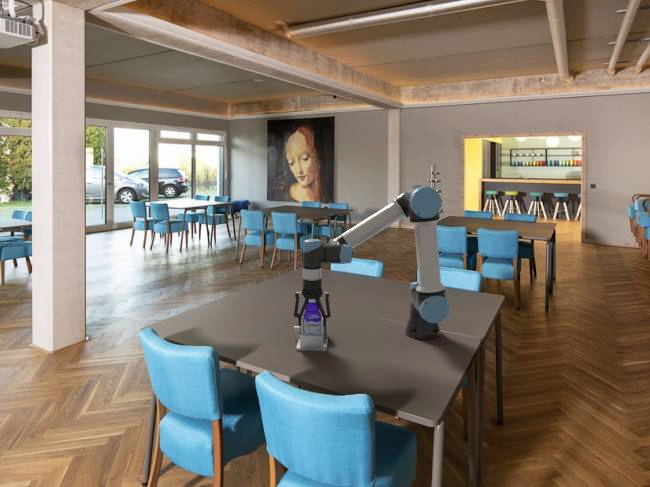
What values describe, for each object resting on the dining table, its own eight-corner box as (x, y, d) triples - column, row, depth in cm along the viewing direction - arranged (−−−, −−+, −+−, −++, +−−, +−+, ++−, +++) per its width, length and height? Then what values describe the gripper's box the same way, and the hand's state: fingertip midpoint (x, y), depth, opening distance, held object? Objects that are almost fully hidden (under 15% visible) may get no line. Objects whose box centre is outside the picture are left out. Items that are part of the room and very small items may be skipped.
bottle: (305, 343, 193) (305, 300, 190) (301, 338, 198) (302, 296, 195) (322, 341, 195) (323, 299, 192) (319, 336, 200) (319, 295, 197)
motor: (328, 335, 208) (328, 320, 207) (327, 340, 202) (327, 324, 201) (294, 335, 209) (294, 319, 208) (293, 340, 203) (292, 324, 202)
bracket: (327, 341, 202) (327, 327, 201) (326, 351, 191) (326, 336, 190) (298, 340, 202) (298, 326, 201) (296, 350, 192) (296, 335, 191)
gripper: (337, 276, 196) (337, 330, 199) (288, 275, 196) (288, 330, 200) (337, 280, 188) (337, 337, 192) (285, 280, 189) (286, 336, 193)
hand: (312, 333), depth 196 cm, fingers closed on bottle, 7 cm apart
